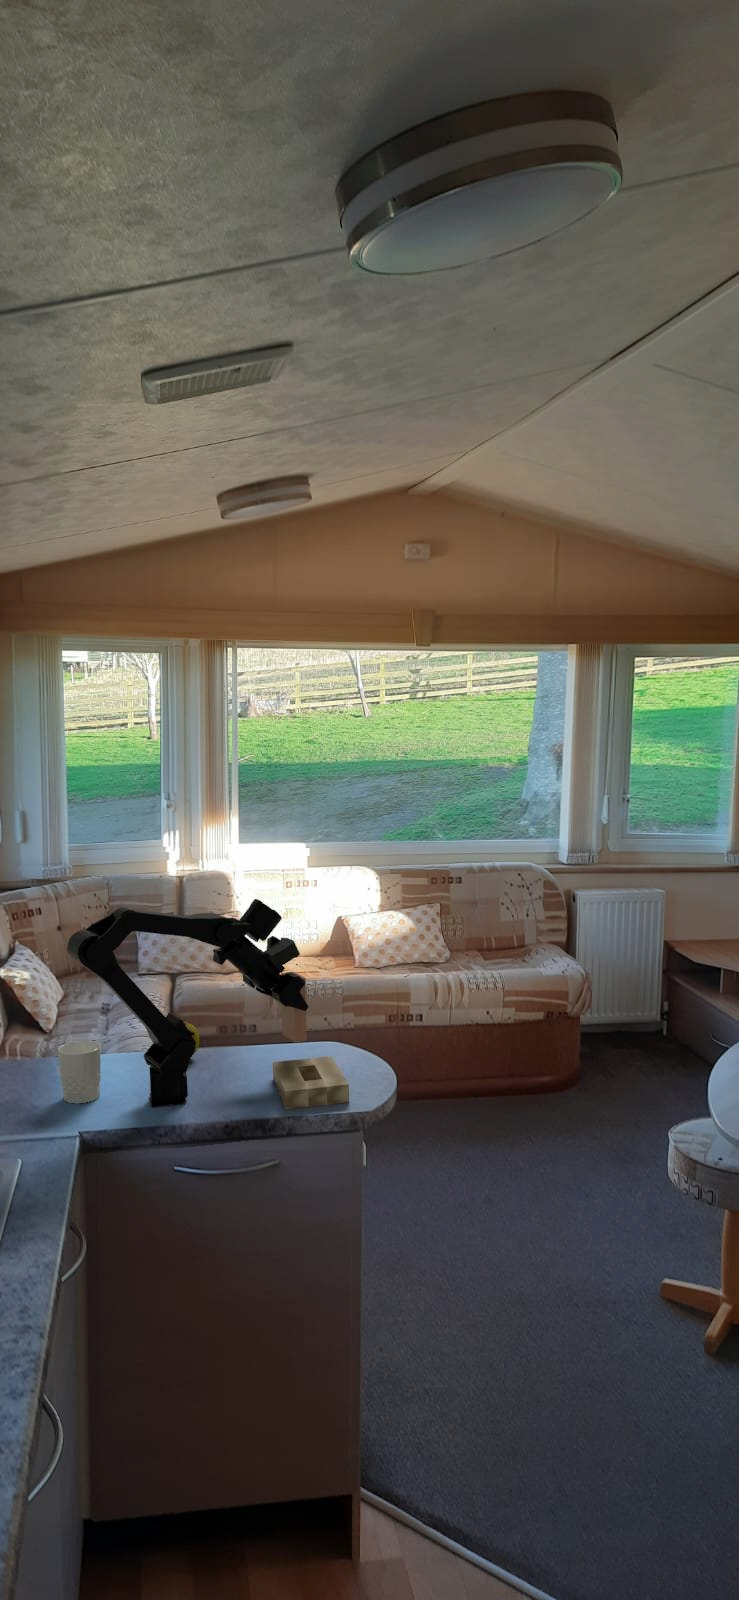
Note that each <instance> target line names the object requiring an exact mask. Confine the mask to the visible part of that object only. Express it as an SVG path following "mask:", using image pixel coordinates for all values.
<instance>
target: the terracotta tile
mask: <svg viewBox="0 0 739 1600" xmlns="http://www.w3.org/2000/svg"><path fill="white" fill-rule="evenodd" d="M290 972H292V973H294V974H296V975H298V976H300V977H301V978H302V979H303V980H304V981H305V985H304V986H303V988H302V989H301V990H300V993H301V995H302V996H303V998H304V1000H305V1001H306V1000H307V996H306V995H307V992H306V989H307V988H306V987H307V985H306V983H307V982H306V977H305V976H303V975H300V974H298V973H297V972H294V971H286V972H282V973H280V974H281V975H283V976H284V975H285V974H286V973H290ZM306 1002H307V1001H306ZM281 1016H282V1017H281V1019H282V1020H281V1025H282V1026H281V1027H282V1029H281V1030H282V1036H283V1037H285V1038H287V1039H288V1040H290V1041H291V1042H293V1043H295V1044H296V1043H302V1042H307V1040H308V1039H307V1036H308V1035H307V1010H306V1011H304V1010H300V1009H297V1008H293V1007H289V1006H287V1007H285V1006H283V1005H281Z"/></svg>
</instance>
